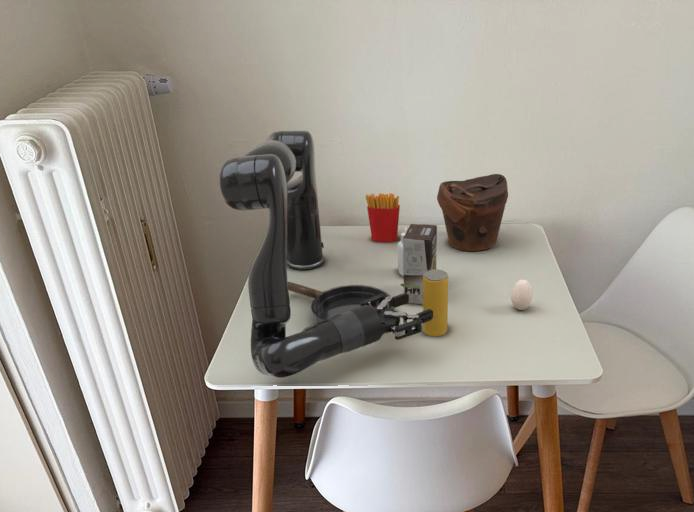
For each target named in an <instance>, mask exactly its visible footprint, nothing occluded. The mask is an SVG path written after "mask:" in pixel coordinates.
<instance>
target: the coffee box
mask: <svg viewBox="0 0 694 512" xmlns="http://www.w3.org/2000/svg"><path fill="white" fill-rule="evenodd" d="M437 240H438V225H437V224H423V223H422V224H418V223H417V224H416V223H410V224H409V226H408V228H407V232H406V234H405V236H404V237H403V273H404V276H403V294H404V293H407V294H408V295H409V302H408V303H407V304H416V305H423V275H424V273H425V272H426V271H429V270H434V269H437V263H438V262H437V258H438V257H437V256H438V255H437V254H438V253H437V251H438V250H437V249H438V247H437V246H438V243H437V242H438V241H437Z"/></svg>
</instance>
